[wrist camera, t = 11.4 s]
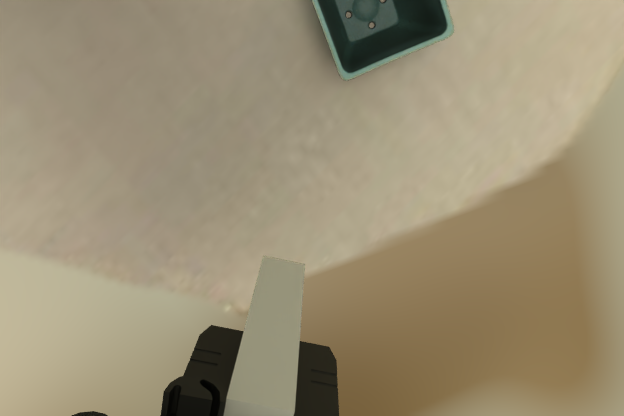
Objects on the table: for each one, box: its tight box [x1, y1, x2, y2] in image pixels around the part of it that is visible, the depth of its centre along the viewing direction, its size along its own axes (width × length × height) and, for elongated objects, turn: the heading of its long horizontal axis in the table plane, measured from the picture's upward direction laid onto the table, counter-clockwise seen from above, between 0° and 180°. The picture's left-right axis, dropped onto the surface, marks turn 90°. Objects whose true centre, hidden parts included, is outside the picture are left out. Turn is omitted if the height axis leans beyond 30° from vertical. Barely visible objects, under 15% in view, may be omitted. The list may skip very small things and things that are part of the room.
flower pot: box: [312, 0, 454, 80], centre depth 35 cm, size 9×9×9 cm
